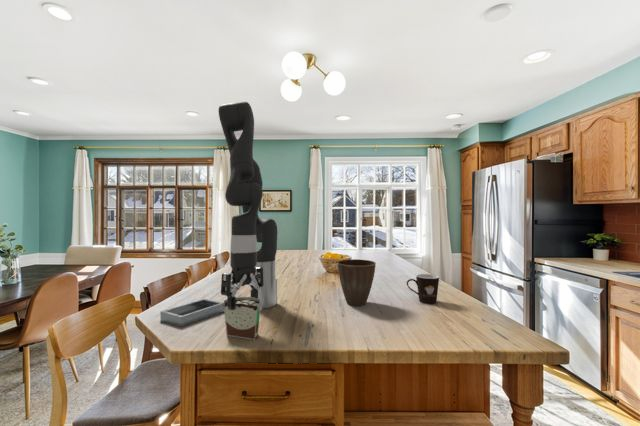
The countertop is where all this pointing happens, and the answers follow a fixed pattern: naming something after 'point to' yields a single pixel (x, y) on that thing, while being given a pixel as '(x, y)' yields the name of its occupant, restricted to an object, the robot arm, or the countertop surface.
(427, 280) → the coffee mug
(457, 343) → the countertop surface
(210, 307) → the collar
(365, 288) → the plant pot
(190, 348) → the countertop surface
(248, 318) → the food container
